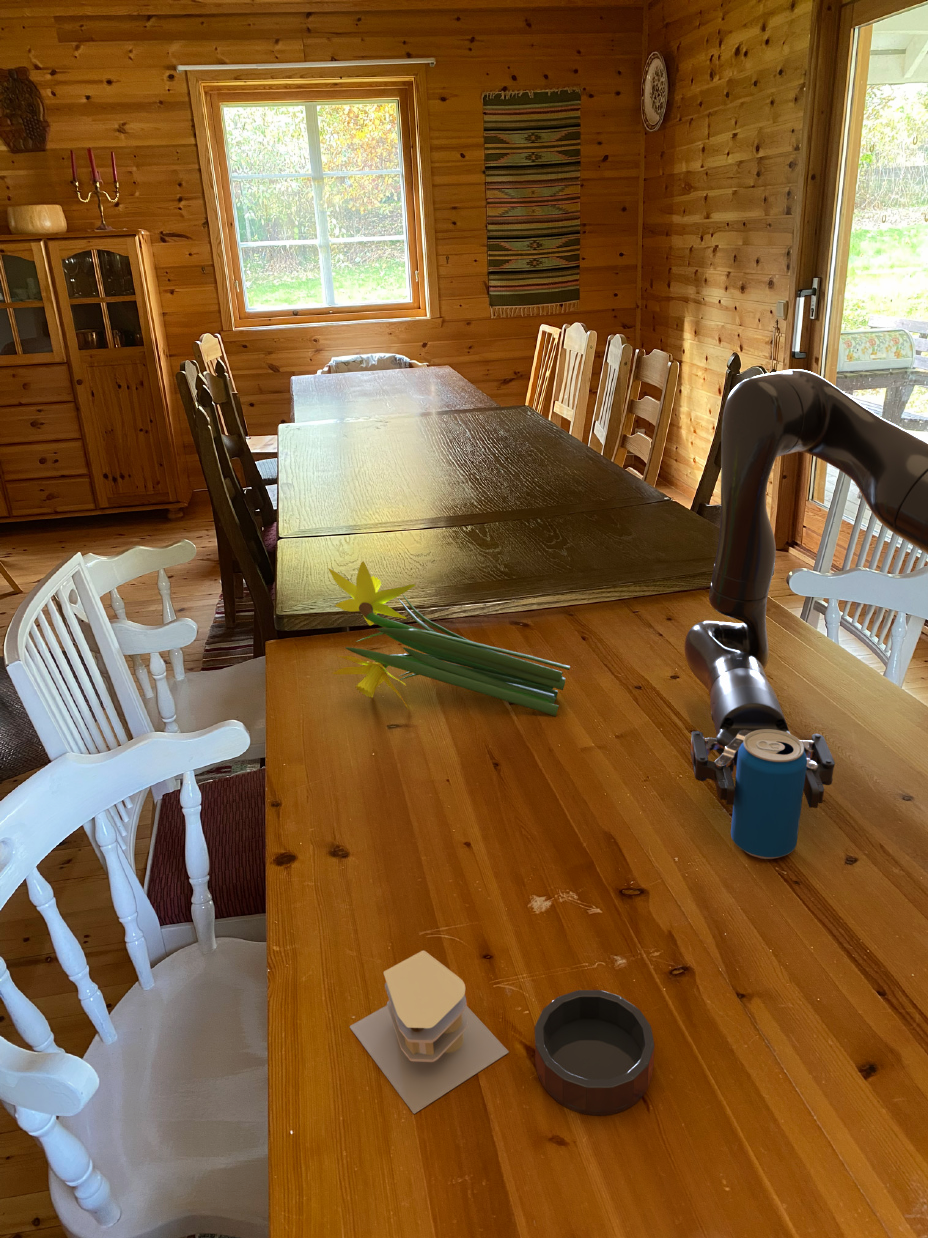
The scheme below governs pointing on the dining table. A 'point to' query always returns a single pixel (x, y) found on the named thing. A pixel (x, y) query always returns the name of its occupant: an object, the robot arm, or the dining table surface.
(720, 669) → the robot arm
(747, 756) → the beverage can
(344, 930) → the dining table surface
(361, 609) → the daffodil flowers
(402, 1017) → the stacked layers on plate
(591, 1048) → the bowl
